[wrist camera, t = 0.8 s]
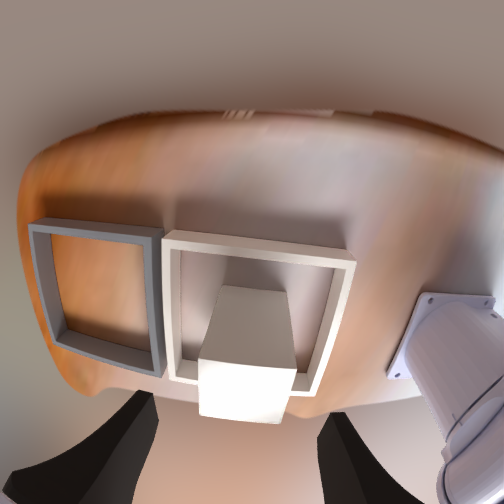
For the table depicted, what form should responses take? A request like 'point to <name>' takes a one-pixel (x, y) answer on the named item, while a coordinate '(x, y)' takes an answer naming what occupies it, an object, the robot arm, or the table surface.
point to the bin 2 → (265, 251)
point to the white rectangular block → (247, 357)
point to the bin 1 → (52, 303)
